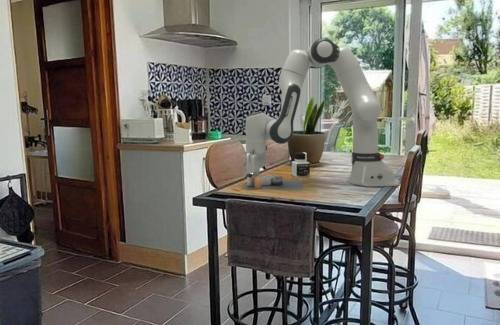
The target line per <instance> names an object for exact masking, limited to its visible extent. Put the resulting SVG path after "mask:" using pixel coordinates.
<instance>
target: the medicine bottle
mask: <svg viewBox="0 0 500 325" xmlns="http://www.w3.org/2000/svg"><path fill="white" fill-rule="evenodd" d="M306 160H307V154H306V153H305V152H297V153H295V161H292V165H291V176H293V177H296V178H307V177H308V178H309V177H311V176H310V175H311V167H310V163H309V162H306Z"/></svg>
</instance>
